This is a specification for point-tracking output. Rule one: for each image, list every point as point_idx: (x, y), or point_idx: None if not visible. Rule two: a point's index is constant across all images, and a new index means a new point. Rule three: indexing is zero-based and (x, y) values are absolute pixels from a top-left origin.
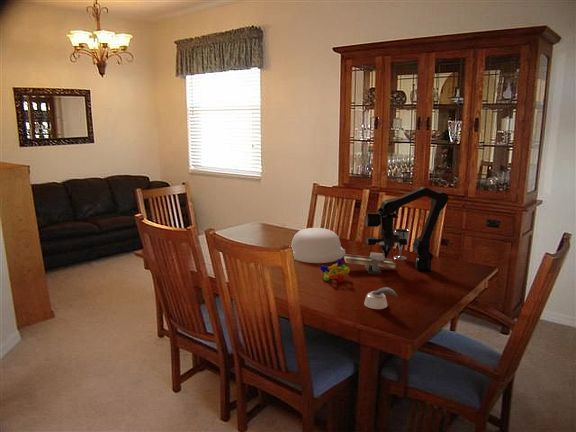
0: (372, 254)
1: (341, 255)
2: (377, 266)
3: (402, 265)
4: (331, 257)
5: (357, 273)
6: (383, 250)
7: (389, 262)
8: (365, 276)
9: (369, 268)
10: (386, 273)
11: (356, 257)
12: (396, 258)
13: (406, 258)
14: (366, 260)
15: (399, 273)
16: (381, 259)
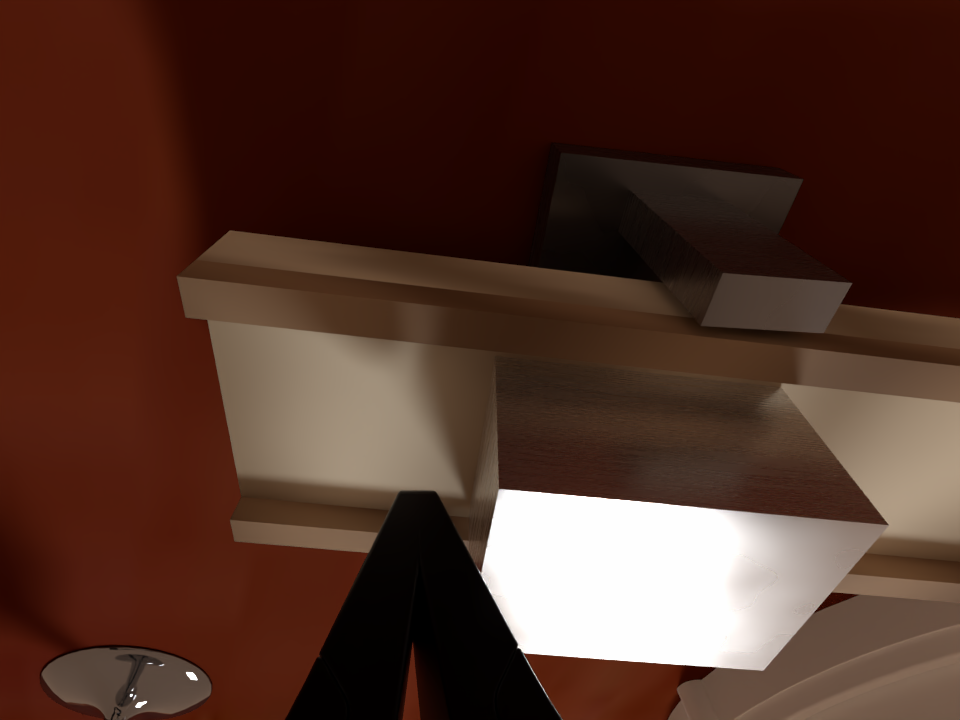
0: (852, 549)
1: (762, 678)
2: (677, 226)
3: (92, 502)
4: (940, 627)
5: (945, 204)
6: (554, 714)
7: (325, 421)
8: (943, 4)
9: None
10: (441, 156)
11: (939, 547)
12: (171, 669)
13: (42, 677)
14: (954, 376)
15: (156, 129)
16: (564, 417)
